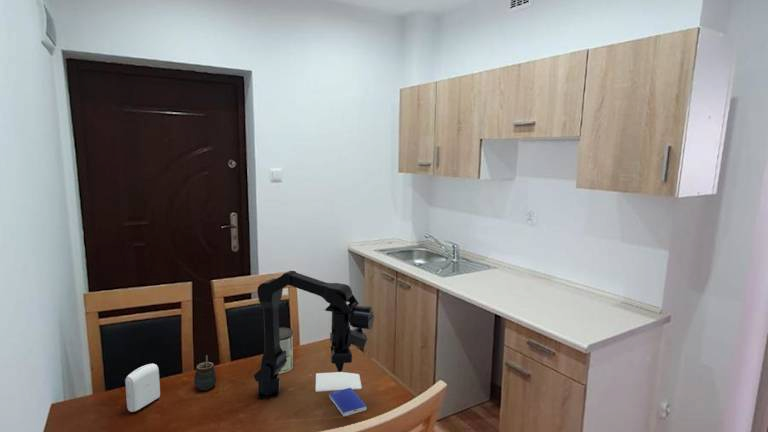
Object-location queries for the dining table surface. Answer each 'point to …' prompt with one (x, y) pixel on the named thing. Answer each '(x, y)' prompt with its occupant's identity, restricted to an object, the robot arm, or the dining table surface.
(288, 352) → the coffee can
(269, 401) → the dining table surface
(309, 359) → the dining table surface
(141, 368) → the photo printer
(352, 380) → the rubber mat
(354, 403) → the hard drive
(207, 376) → the mate gourd
